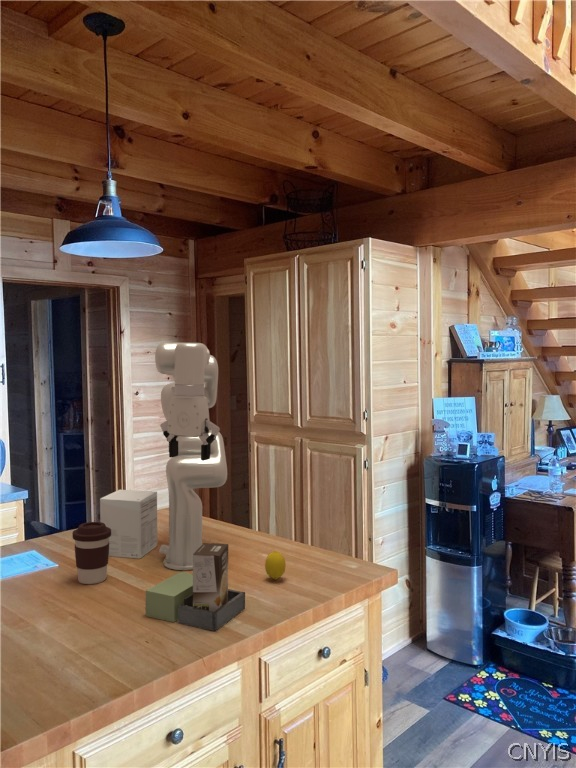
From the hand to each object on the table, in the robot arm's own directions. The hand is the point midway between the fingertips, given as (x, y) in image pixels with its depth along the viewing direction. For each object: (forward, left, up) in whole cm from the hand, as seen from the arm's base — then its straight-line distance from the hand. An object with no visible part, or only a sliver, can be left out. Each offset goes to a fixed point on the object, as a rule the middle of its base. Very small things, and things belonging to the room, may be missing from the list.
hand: (189, 458), depth 160 cm
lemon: (+17, +16, -34) cm, 42 cm away
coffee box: (+14, -12, -34) cm, 39 cm away
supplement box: (-34, +18, -35) cm, 52 cm away
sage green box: (+4, -11, -34) cm, 36 cm away
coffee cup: (-27, -6, -34) cm, 44 cm away
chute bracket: (+14, -11, -34) cm, 38 cm away
